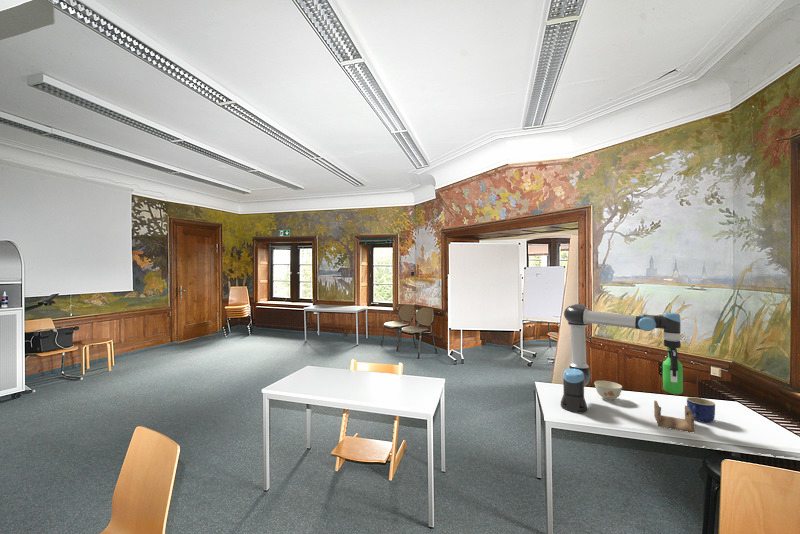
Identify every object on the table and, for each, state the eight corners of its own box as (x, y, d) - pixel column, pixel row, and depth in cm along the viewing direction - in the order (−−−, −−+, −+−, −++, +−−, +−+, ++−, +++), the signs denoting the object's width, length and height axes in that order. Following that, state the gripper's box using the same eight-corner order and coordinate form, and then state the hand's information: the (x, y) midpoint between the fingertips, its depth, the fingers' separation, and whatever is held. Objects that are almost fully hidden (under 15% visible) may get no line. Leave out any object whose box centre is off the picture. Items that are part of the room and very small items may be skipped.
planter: (709, 426, 186) (709, 406, 187) (682, 417, 197) (682, 399, 198) (719, 421, 192) (719, 402, 192) (692, 413, 203) (692, 395, 203)
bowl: (591, 398, 227) (591, 384, 227) (598, 393, 238) (598, 379, 238) (618, 405, 215) (618, 390, 215) (625, 399, 226) (625, 384, 226)
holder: (658, 426, 186) (658, 409, 186) (654, 415, 200) (654, 400, 200) (694, 433, 178) (694, 415, 178) (687, 421, 192) (687, 405, 192)
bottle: (686, 395, 184) (686, 350, 184) (668, 394, 186) (668, 349, 186) (676, 389, 193) (676, 346, 193) (659, 388, 194) (659, 345, 195)
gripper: (684, 344, 179) (685, 386, 178) (676, 337, 197) (677, 375, 197) (666, 342, 182) (667, 383, 182) (660, 336, 201) (661, 373, 200)
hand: (672, 379), depth 189 cm, fingers closed on bottle, 9 cm apart
